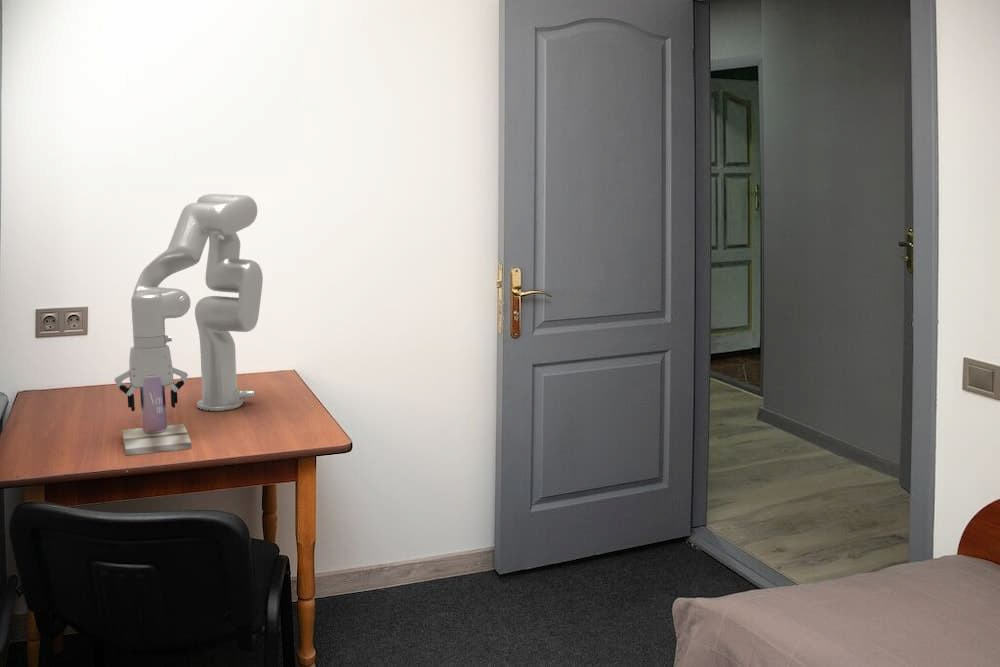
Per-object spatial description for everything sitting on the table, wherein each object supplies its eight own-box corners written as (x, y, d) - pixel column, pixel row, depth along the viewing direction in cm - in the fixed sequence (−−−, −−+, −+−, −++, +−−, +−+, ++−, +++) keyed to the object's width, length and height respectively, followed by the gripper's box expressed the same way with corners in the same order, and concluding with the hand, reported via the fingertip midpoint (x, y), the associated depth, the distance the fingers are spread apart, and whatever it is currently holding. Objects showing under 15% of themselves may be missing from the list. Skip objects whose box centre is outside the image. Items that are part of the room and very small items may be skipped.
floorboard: (187, 439, 237) (187, 433, 237) (191, 448, 230) (191, 442, 230) (124, 445, 231) (123, 439, 231) (125, 455, 224) (125, 449, 224)
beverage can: (162, 425, 243) (158, 369, 240) (170, 431, 238) (167, 374, 235) (139, 429, 239) (135, 372, 236) (147, 435, 235) (143, 377, 231)
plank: (183, 429, 246) (183, 423, 245) (187, 438, 238) (187, 432, 238) (122, 435, 239) (122, 429, 239) (124, 444, 232) (123, 438, 232)
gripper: (184, 337, 241) (187, 401, 244) (111, 341, 234) (115, 407, 237) (187, 342, 234) (190, 408, 237) (112, 347, 227) (117, 415, 230)
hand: (153, 408), depth 237 cm, fingers open, 9 cm apart
